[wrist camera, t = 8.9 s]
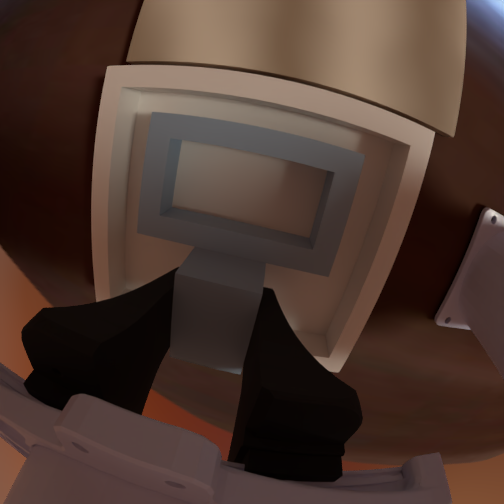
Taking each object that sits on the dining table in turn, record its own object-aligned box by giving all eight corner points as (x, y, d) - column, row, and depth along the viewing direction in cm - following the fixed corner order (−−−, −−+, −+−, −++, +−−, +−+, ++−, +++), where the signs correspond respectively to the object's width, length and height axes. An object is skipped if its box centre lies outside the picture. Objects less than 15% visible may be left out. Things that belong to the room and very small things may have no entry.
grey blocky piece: (299, 329, 15) (303, 385, 11) (146, 293, 15) (112, 337, 11) (355, 153, 11) (389, 159, 7) (165, 114, 11) (120, 106, 7)
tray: (410, 130, 11) (435, 132, 9) (333, 343, 17) (338, 372, 14) (133, 73, 11) (107, 66, 9) (117, 292, 17) (98, 314, 14)
